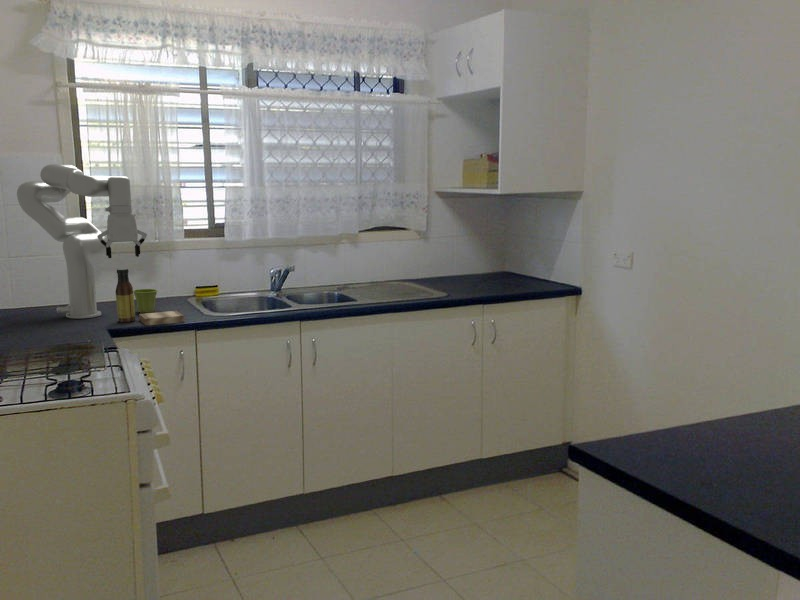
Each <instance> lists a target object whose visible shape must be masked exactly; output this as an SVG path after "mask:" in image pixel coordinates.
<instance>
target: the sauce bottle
mask: <svg viewBox="0 0 800 600" xmlns="http://www.w3.org/2000/svg"><path fill="white" fill-rule="evenodd" d="M116 274H117V284H116V287H115V300H116V313H117V318H118V321H119V322H121V323H132V322H134V321H136V307H135V295H134V292H133V289H134V288H133V285H132V283H131V282H130V281H129V280H130V279H129V268H127V267H124V268H121V267H120V268H117V269H116ZM131 321H132V322H131Z"/></svg>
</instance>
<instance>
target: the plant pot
mask: <svg viewBox="0 0 800 600" xmlns="http://www.w3.org/2000/svg"><path fill="white" fill-rule="evenodd" d="M157 292H159V291H158V289H155V288H141V289H140V288H139V289H134V290H133V295H134V299H135V302H136V307H137V308H136V309H137V312H138V313H139V312H140V313H139V314H145V313H155V309H156V308H155V305H156V296H157V294H158V293H157Z"/></svg>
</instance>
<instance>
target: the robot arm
mask: <svg viewBox="0 0 800 600" xmlns="http://www.w3.org/2000/svg"><path fill="white" fill-rule="evenodd" d="M39 173H40V180H31V181H25V182H24V183H21V184H20V185H19V186H18V188H17V190H16V197H17V202H18V204H19V206H20V208H21V210H22V211H23V212H24V213H25V214H26V215H27V216H28V217H30V219H32V220H34V221H35V222H36V223H37V224H38V225H39V226H40V227H41V228H42V229H43V230H44V231H45V232H46V233H47V234H48V235H50V237H52V238H53V239H54V240H56V241H57V242H58V243H59V242H60V243H61V242H62V252H63V255H64V259H65V263H66V272H67V283H68V285H67V286H68V300H69V301H68V302H69V303H68V304H67V305H65V306H64V307H63V306H62V307H56V313H57V314H58V313H61V314H62V313H66V314H65V317H66V318H69V319H76V320H77V319H81V320H82V319H90V318H91V319H92V318H96V317H100V316H102V311H100V310H97V309H98V308H97V295H96V277H95V268H94V266H93V264H92V262H91V260H90V259H93V258H100V257H103V256H105V255H106V256H107V258H108V259H112V248H111V245H112V244H113V243H126V242H133V243H134V244H135V245H134V254H135V255H134V256H135V257H137V258H139V257H140V255H141V245H142V244H143V243H144V242H145V241H146V238H147V236H148V234H147V233H146V232H144V231H141V230H139V229H138V227H137V220H136V217H135V216H136V215H135V214H134V213H132V212H133V211H132V210H133V209H132V194H131V182H130V181H131V180H130V178H129V177H128V176H121V175H120V176H118V175H117V176H112V175H86V174H84V172H83V171H82V170H81V169H79V168H78V167H76V166H74V165H73V164H68V163H67V164H65V163H63V164H62V163H61V164H60V163H50V164H46V165H45V166H43V167H42V169H41V171H40V172H39ZM70 193H72V194H73V195H74V194H75V195H79V196H83V197H88V198H89V197H90V198H91V197H92V198H96V197H98V198H100V197H108V203H109V205H108V207H105V209H104V211H105V212H108V213H109V214H108V215H107V218H106V219H107V220H106V221H107V222H106V224H107V225H106V230H105V231H103V232H102V231H101V230H100V229H98V228H97V227H96V226H95V225H94V224H93V223H92V222H91V221H90V220H89V219H87V218H85V217H82V216H65V215H63V214H62V213H60V212H59V211H58V210H57V209H56V208H55V207H53V206H52V205H49V204H48V203H59V202H61V201H63V200H64V199H65V198H66V197H67V196H68V195H69V194H70ZM138 235H140V236H141V238H140V239H139V240H138V238H139V237H138Z"/></svg>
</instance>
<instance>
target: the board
mask: <svg viewBox="0 0 800 600" xmlns="http://www.w3.org/2000/svg"><path fill="white" fill-rule="evenodd" d="M138 316H139V317H138V319H139V320H140V322H141V323H142V324H143V325H145V326H146V327H148V326H155V325H156V326H157V325H168V324H179V323H185V315H184V314H182V313H181V312H179V311H178V310H170V311H169V310H168V311H161V312H160V311H158V312H157V311H156V312H150V313H147V312H144V313H139V314H138Z"/></svg>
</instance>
